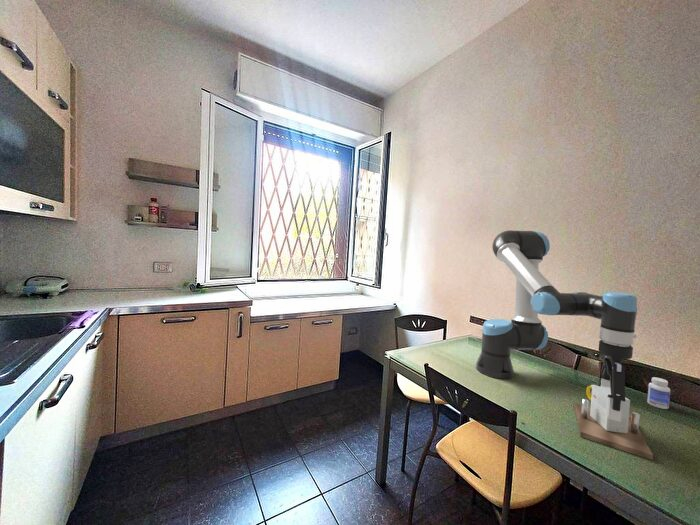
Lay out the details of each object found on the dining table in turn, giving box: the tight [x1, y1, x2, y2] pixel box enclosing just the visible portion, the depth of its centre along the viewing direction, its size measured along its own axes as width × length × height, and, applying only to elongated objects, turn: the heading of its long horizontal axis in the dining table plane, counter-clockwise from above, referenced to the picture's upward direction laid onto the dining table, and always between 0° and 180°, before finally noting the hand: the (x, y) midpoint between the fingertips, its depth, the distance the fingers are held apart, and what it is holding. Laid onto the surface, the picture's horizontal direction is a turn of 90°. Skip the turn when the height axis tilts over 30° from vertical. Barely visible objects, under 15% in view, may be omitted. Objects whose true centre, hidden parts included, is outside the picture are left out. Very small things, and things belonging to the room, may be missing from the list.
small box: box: [590, 384, 631, 433], centre depth 86 cm, size 8×6×10 cm
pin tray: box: [573, 398, 654, 461], centre depth 86 cm, size 15×20×8 cm
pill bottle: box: [646, 376, 671, 410], centre depth 101 cm, size 5×5×10 cm
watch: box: [585, 384, 598, 401], centre depth 102 cm, size 6×3×6 cm, turn 2°
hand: (609, 408), depth 86 cm, fingers open, 13 cm apart
